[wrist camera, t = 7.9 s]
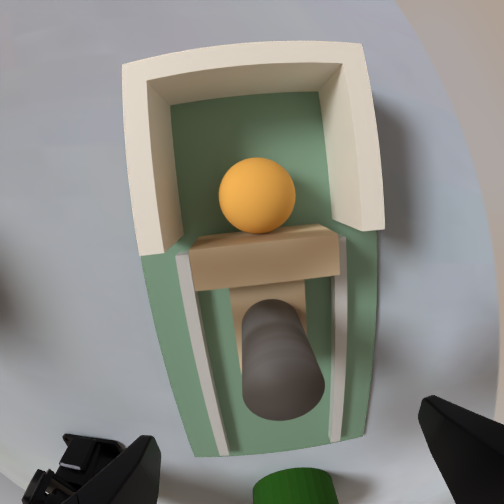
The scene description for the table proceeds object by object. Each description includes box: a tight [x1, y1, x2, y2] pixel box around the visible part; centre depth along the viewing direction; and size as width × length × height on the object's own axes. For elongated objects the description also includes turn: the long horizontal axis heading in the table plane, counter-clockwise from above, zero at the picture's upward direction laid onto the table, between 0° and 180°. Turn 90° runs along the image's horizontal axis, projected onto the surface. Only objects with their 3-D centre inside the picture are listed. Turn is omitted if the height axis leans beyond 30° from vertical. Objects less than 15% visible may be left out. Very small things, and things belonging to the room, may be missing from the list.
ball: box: [219, 157, 296, 234], centre depth 16 cm, size 4×4×4 cm
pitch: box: [122, 41, 385, 457], centre depth 17 cm, size 29×15×5 cm, turn 6°
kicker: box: [188, 223, 340, 421], centre depth 15 cm, size 8×7×8 cm
